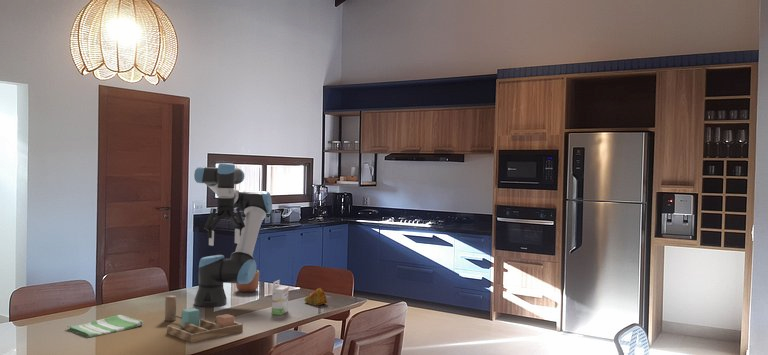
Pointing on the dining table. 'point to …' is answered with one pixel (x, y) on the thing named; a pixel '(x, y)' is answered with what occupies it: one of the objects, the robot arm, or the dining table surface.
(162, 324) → the dining table surface
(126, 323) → the dish towel
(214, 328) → the oak lanes
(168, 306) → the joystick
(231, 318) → the terracotta block
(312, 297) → the rock
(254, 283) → the planter
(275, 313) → the ink box
